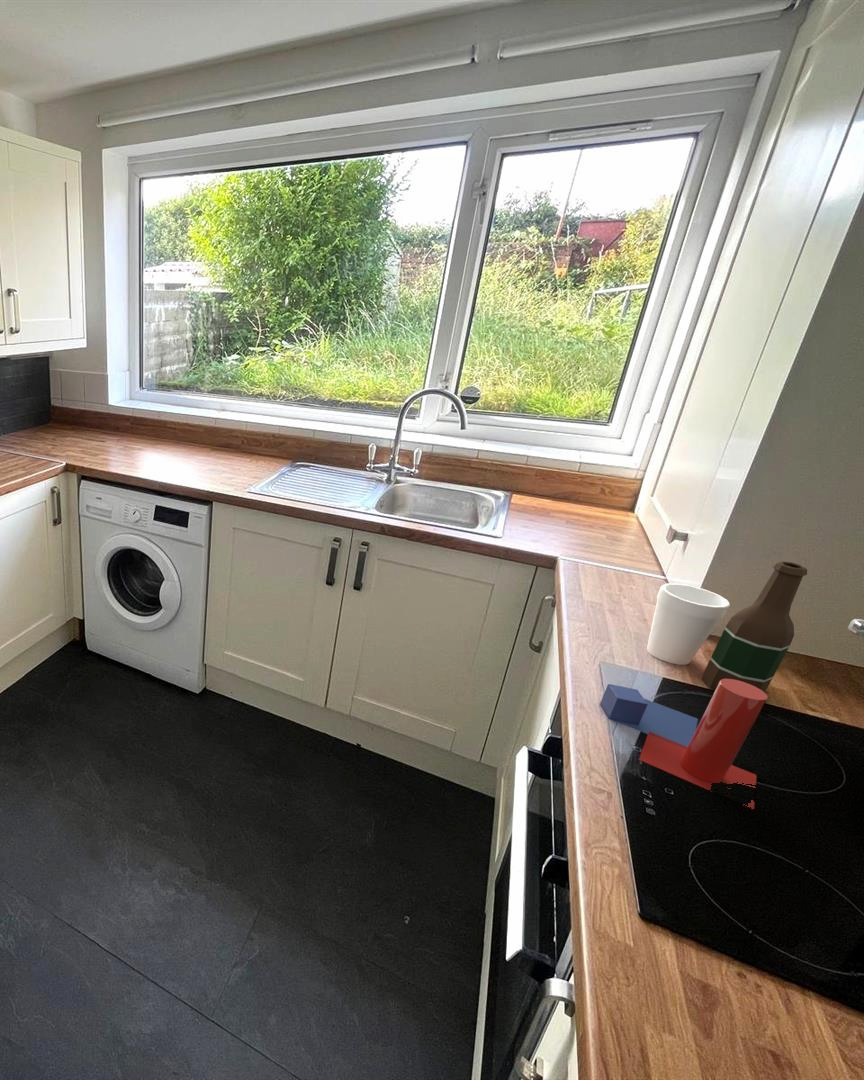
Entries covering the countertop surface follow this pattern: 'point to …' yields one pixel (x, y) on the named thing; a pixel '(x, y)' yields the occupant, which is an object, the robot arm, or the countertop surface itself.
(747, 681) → the beer bottle
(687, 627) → the foam cup
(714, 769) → the red canister
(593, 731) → the countertop surface
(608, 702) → the blue block
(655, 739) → the red mat
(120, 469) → the countertop surface
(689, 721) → the blue mat
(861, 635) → the robot arm
